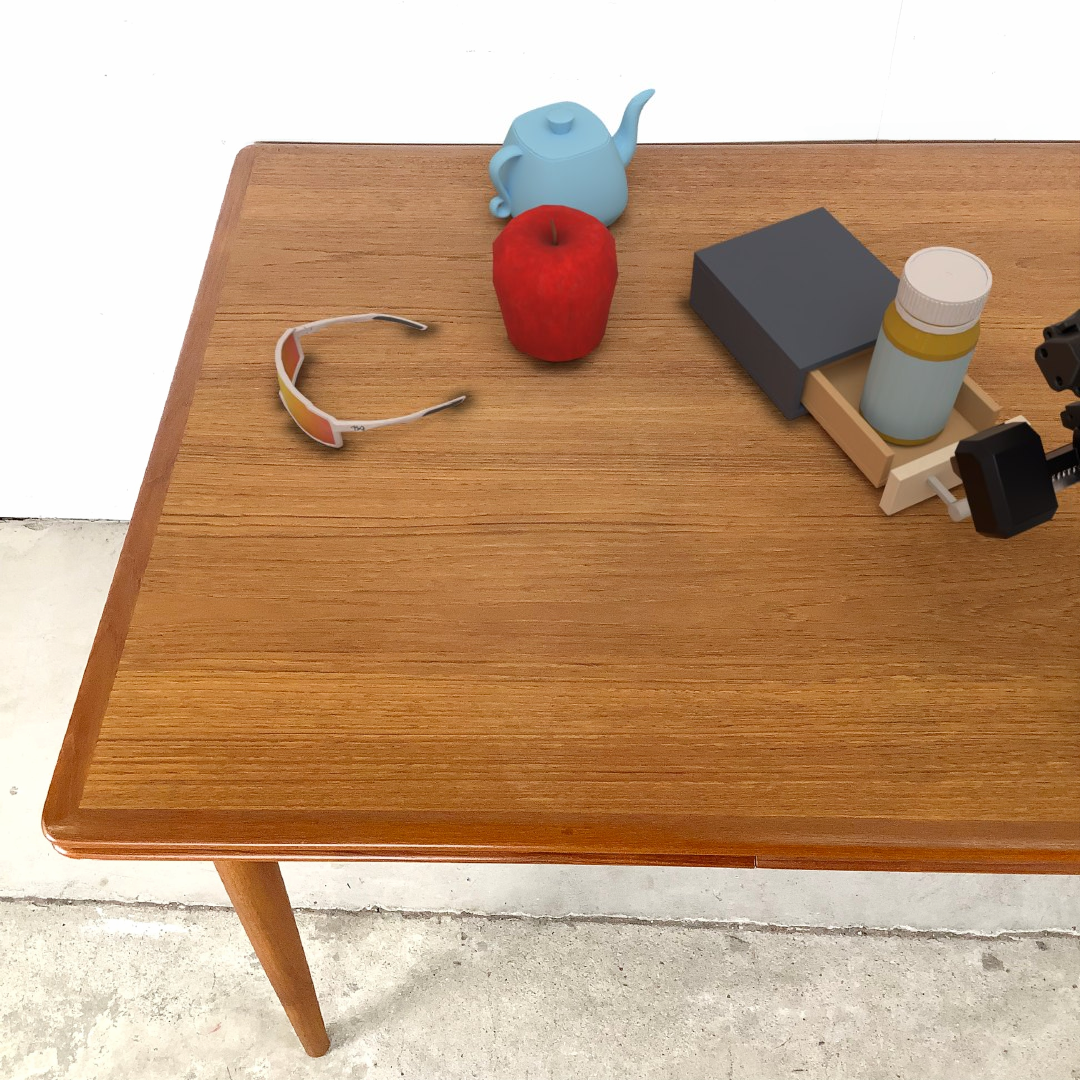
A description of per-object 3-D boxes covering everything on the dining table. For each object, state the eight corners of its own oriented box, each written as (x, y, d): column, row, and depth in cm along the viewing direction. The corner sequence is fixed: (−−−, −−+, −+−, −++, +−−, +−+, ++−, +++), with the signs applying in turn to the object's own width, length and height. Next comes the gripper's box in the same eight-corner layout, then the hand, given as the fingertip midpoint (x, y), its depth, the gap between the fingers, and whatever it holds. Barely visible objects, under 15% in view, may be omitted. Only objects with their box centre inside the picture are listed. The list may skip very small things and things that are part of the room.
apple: (499, 387, 98) (488, 264, 88) (498, 309, 105) (487, 184, 94) (619, 382, 98) (623, 258, 87) (611, 303, 104) (614, 178, 94)
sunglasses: (260, 363, 101) (255, 319, 97) (419, 332, 106) (420, 289, 102) (304, 472, 93) (301, 428, 89) (473, 432, 98) (477, 390, 94)
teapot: (689, 115, 104) (514, 173, 99) (681, 212, 112) (520, 269, 108) (621, 52, 111) (455, 104, 106) (618, 148, 119) (465, 199, 115)
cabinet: (920, 368, 98) (938, 315, 93) (788, 421, 95) (799, 369, 90) (812, 259, 107) (823, 206, 102) (688, 304, 104) (693, 251, 99)
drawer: (1050, 496, 88) (1069, 460, 85) (921, 555, 85) (935, 520, 82) (896, 342, 99) (908, 305, 95) (777, 389, 96) (784, 352, 92)
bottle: (840, 404, 93) (878, 259, 81) (911, 378, 95) (958, 232, 83) (889, 461, 89) (936, 318, 77) (962, 433, 91) (1020, 288, 79)
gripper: (1298, 245, 62) (1089, 284, 77) (1026, 351, 58) (861, 371, 73) (1339, 436, 64) (1127, 438, 79) (1078, 552, 60) (906, 531, 75)
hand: (1008, 441), depth 76 cm, fingers open, 9 cm apart
